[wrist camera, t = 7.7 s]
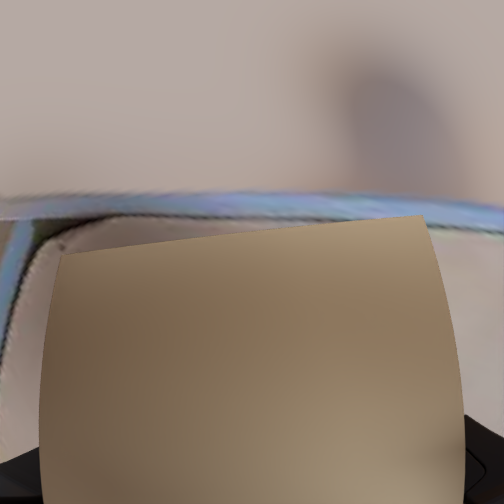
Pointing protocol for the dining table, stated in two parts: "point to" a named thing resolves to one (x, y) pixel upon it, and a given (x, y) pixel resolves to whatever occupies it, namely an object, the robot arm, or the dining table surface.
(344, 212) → the dining table surface
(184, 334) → the beech block
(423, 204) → the dining table surface
